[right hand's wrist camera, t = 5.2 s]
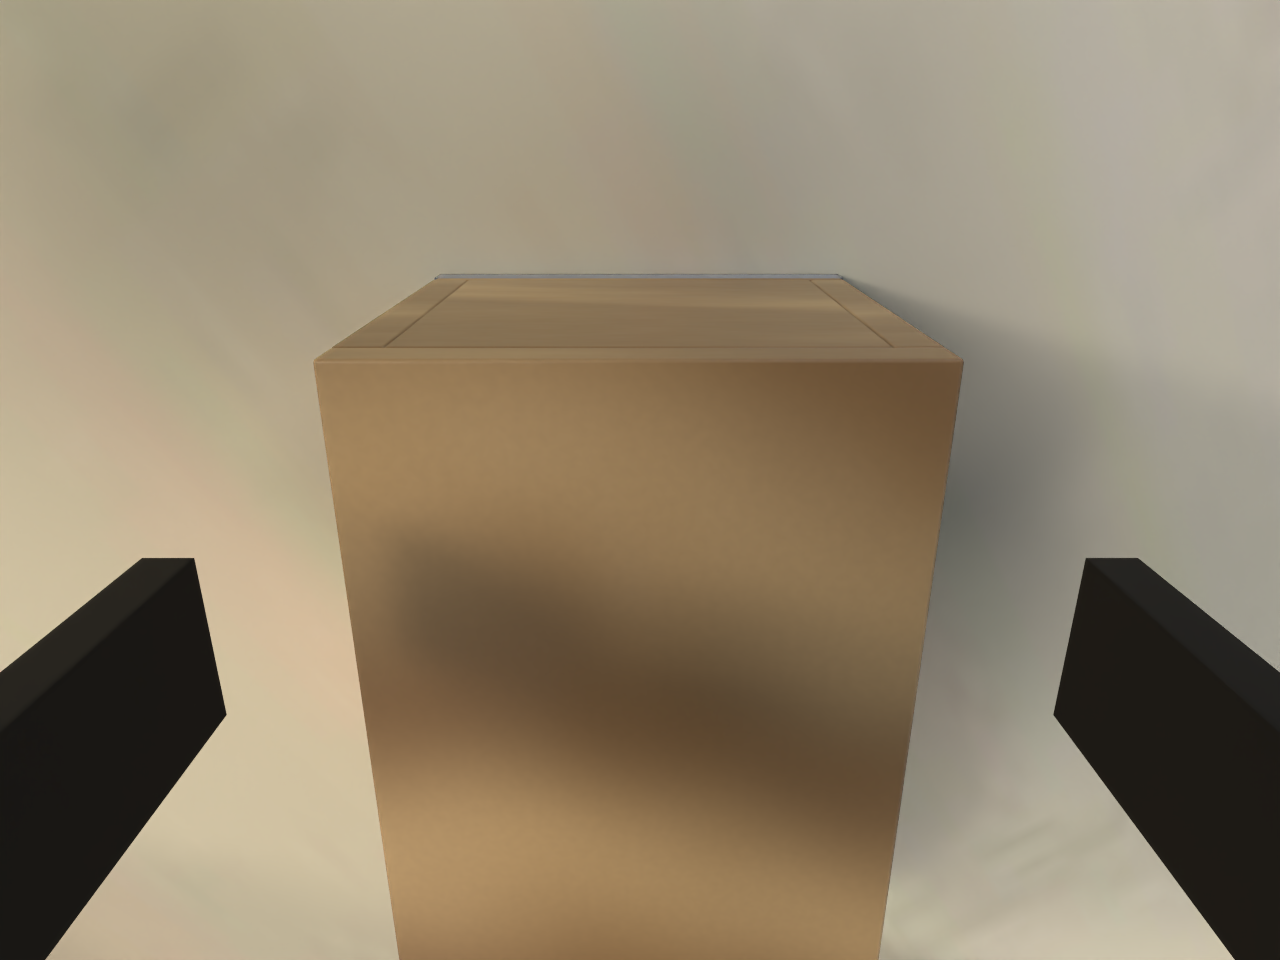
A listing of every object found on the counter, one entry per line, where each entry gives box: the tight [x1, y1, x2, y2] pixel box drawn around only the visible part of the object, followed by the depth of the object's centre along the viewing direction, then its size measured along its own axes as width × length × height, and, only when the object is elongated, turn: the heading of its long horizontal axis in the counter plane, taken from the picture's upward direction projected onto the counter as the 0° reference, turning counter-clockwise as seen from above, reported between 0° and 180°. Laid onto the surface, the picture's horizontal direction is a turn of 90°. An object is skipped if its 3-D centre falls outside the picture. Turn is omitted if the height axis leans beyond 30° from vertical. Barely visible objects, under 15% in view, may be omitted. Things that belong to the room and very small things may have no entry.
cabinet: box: [314, 274, 964, 960], centre depth 23 cm, size 17×12×10 cm
